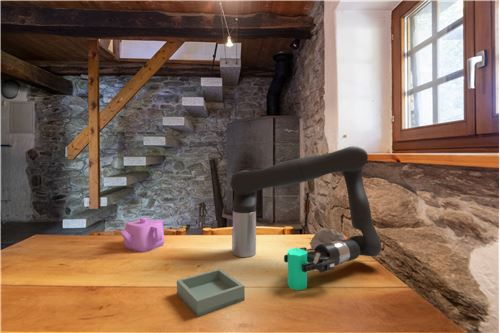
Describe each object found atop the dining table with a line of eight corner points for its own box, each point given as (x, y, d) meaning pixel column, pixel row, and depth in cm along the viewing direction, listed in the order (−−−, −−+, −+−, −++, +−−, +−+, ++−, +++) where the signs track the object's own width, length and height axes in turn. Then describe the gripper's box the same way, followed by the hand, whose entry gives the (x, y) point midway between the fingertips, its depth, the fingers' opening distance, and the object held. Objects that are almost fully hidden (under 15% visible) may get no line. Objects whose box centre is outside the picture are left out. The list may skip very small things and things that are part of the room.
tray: (177, 293, 82) (176, 280, 82) (219, 281, 90) (219, 268, 90) (197, 316, 70) (197, 301, 70) (244, 299, 78) (244, 285, 78)
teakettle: (163, 251, 117) (162, 221, 117) (118, 254, 113) (117, 224, 113) (165, 238, 134) (164, 212, 133) (126, 241, 130) (126, 214, 129)
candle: (285, 281, 90) (285, 243, 89) (304, 280, 90) (304, 243, 90) (289, 290, 84) (289, 250, 83) (309, 289, 84) (310, 249, 84)
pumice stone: (345, 248, 120) (345, 225, 120) (349, 254, 113) (349, 229, 112) (308, 247, 122) (308, 224, 121) (310, 253, 114) (310, 228, 114)
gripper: (317, 237, 100) (279, 244, 92) (349, 249, 87) (309, 259, 79) (316, 258, 100) (279, 267, 92) (349, 273, 88) (309, 285, 80)
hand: (293, 263), depth 86 cm, fingers open, 8 cm apart
